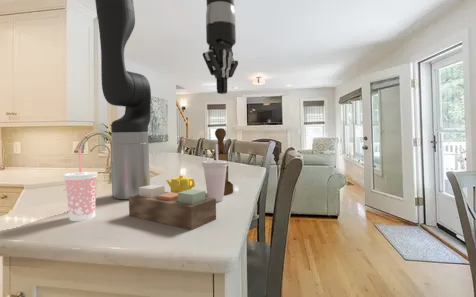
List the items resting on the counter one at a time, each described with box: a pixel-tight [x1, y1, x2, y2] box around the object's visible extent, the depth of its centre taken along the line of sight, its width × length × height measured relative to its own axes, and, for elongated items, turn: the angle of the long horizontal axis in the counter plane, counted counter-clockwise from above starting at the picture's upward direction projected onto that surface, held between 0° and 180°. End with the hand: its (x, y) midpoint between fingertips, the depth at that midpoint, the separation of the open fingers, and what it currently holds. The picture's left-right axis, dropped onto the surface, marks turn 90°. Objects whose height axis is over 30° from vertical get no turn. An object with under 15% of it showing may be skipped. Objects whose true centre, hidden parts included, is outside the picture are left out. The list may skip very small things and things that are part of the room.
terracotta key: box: [158, 191, 178, 201], centre depth 57 cm, size 4×4×3 cm
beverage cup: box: [62, 148, 99, 222], centre depth 58 cm, size 6×6×14 cm
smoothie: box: [201, 143, 229, 203], centre depth 71 cm, size 6×6×14 cm
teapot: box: [166, 175, 196, 193], centre depth 79 cm, size 8×6×5 cm
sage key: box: [178, 188, 206, 204], centre depth 54 cm, size 4×4×3 cm
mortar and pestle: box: [213, 127, 234, 196], centre depth 79 cm, size 7×6×18 cm
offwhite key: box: [139, 184, 166, 198], centre depth 60 cm, size 4×4×3 cm
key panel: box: [128, 191, 217, 230], centre depth 57 cm, size 17×7×4 cm, turn 58°
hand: (222, 93), depth 74 cm, fingers closed
